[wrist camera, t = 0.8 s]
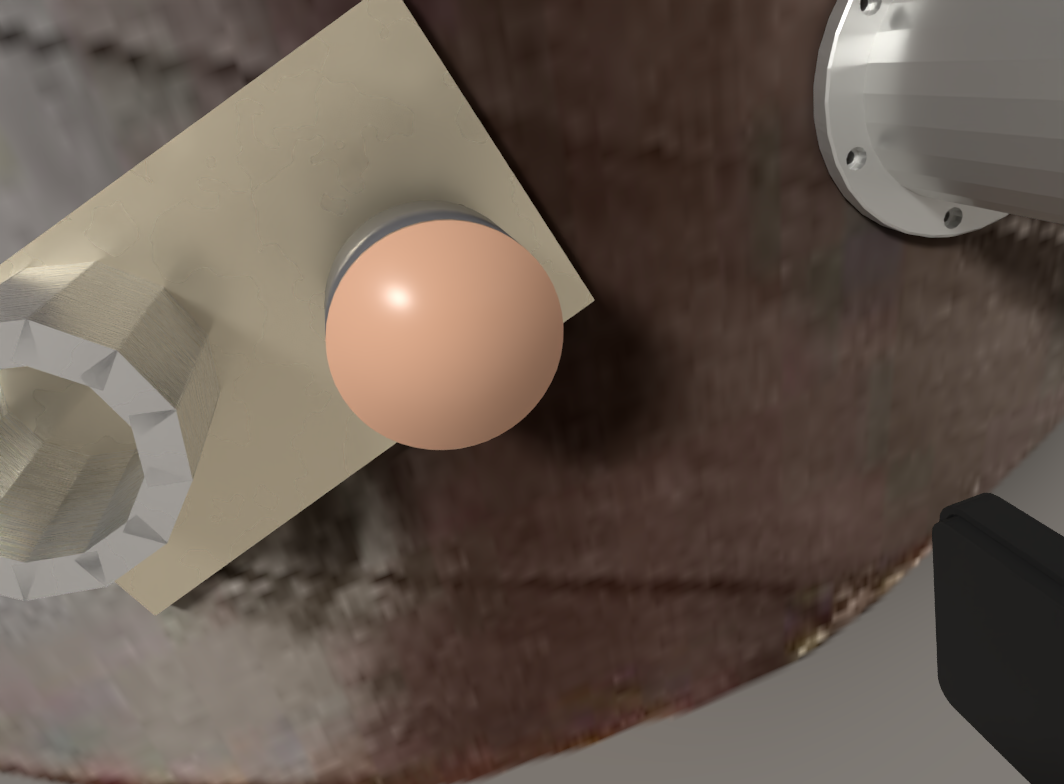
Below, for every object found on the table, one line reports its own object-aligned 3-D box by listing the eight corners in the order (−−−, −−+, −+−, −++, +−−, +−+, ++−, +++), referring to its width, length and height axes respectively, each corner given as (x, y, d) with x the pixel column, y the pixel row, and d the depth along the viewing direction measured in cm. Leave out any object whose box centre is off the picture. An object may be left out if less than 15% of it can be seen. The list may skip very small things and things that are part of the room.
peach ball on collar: (442, 148, 28) (478, 169, 22) (545, 302, 31) (604, 360, 25) (282, 263, 28) (272, 319, 22) (400, 406, 31) (422, 492, 25)
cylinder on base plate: (387, -16, 27) (412, -50, 20) (587, 294, 32) (664, 357, 25) (-125, 357, 27) (-287, 459, 20) (159, 600, 33) (114, 751, 25)
